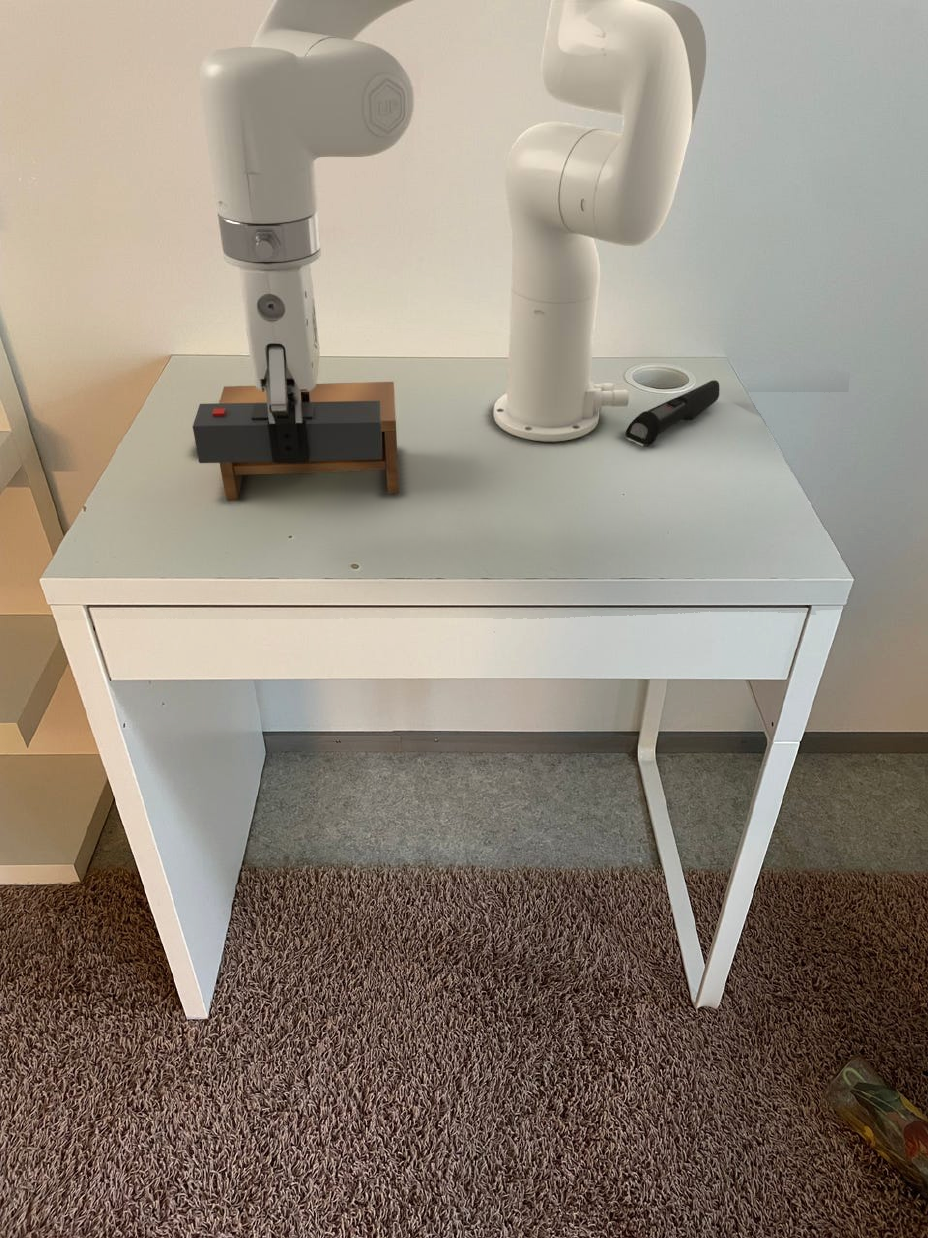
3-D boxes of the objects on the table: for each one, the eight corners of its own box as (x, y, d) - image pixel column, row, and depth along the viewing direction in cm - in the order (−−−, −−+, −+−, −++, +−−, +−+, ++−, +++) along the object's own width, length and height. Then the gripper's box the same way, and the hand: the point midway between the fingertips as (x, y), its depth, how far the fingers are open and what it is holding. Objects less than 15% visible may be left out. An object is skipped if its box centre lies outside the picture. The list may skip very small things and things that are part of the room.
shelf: (397, 451, 104) (394, 381, 98) (399, 493, 97) (395, 420, 91) (235, 457, 102) (223, 386, 97) (226, 500, 96) (212, 426, 90)
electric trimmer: (725, 408, 113) (730, 383, 111) (648, 448, 105) (652, 423, 103) (699, 398, 115) (704, 374, 113) (622, 437, 107) (625, 412, 105)
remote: (381, 436, 85) (380, 397, 83) (382, 459, 82) (380, 419, 79) (205, 439, 84) (199, 400, 81) (199, 463, 80) (191, 422, 78)
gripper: (314, 271, 65) (332, 495, 76) (323, 205, 78) (337, 405, 89) (206, 272, 64) (240, 497, 76) (234, 206, 77) (259, 406, 89)
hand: (293, 445), depth 82 cm, fingers closed on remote, 4 cm apart
